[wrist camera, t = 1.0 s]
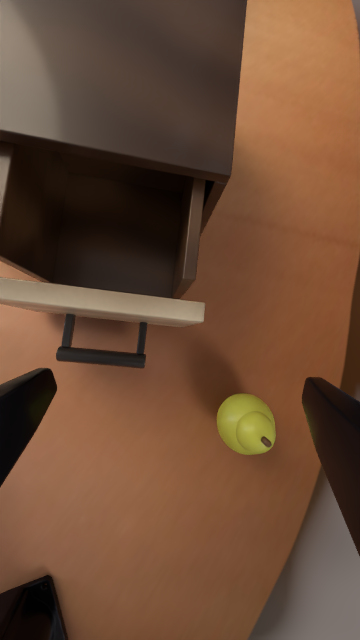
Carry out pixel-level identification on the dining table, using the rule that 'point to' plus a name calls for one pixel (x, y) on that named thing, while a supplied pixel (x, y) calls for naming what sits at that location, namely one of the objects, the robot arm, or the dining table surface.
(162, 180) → the drawer
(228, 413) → the pear
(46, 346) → the dining table surface
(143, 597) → the dining table surface
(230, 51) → the cabinet
